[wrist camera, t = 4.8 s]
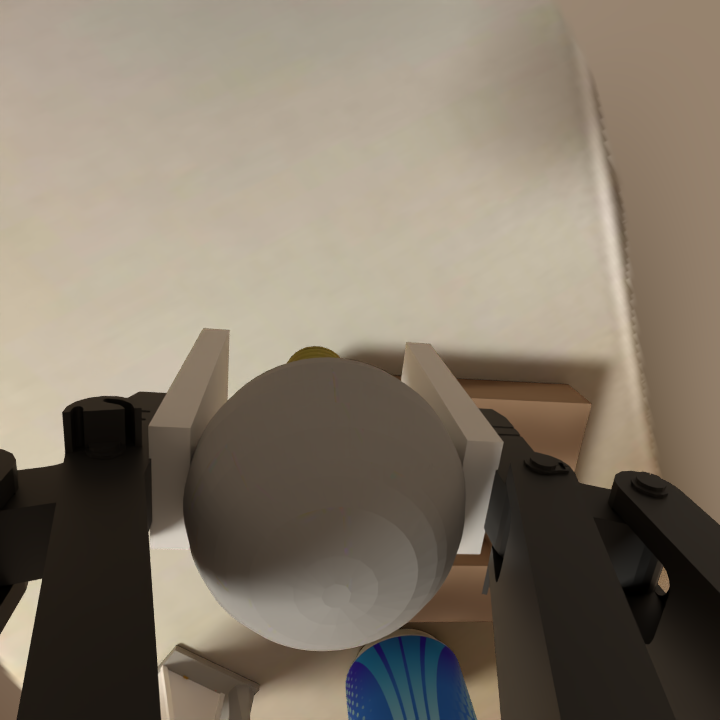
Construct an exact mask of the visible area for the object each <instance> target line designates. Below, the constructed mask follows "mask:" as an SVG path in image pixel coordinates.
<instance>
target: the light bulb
mask: <svg viewBox="0 0 720 720" xmlns="http://www.w3.org/2000/svg"><path fill="white" fill-rule="evenodd" d="M465 502H466V489H465V478H464V472H463V468H462V464H461V461H460V458H459V456H458V453H457V451H456V448H455V446H454V444H453V442H452V440H451V438H450V436H449V434H448V432H447V430H446V428H445V426H444V425H443V423H442V421H441V419H440V418H439V416H438V415H437V413H436V412H435V411H434V409H433V408H432V407H431V406H430V405H429V404H428V402H427V401H426V400H425V399H424V398H422V397H421V396H420V395H419V394H418V393H417V392H416V391H414V390H413V389H412V388H410V387H409V386H408V385H406V384H405V383H403V382H402V381H400V380H399V379H397V378H395V377H394V376H392V375H390V374H389V373H387V372H385V371H383V370H381V369H379V368H377V367H374V366H372V365H369V364H366V363H363V362H359V361H355V360H350V359H343V358H340V357H339V356H338V355H337V354H336V353H334V352H333V351H332V350H329V349H327V348H324V347H318V346H313V347H306V348H303V349H301V350H299V351H298V352H296V353H295V354H294V355H293V356H292V357H291V358H290V359H289V361H288V362H287V364H283V365H280V366H278V367H275V368H273V369H271V370H268V371H266V372H265V373H263V374H261V375H259V376H257V377H256V378H254V379H253V380H251V381H250V382H248V383H247V384H246V385H244V386H243V387H242V388H241V389H240V390H238V391H237V392H236V393H235V394H234V395H233V396H232V397H231V398H230V399H229V400H228V401H227V402H226V403H225V404H224V405H223V406H222V407H221V408H220V409H219V410H218V411H217V412H216V414H215V415H214V416H213V417H212V419H211V420H210V421H209V423H208V425H207V426H206V428H205V429H204V431H203V433H202V435H201V437H200V439H199V441H198V443H197V446H196V449H195V451H194V454H193V458H192V461H191V465H190V468H189V472H188V475H187V479H186V484H185V488H184V497H183V516H184V524H185V529H186V533H187V537H188V541H189V545H190V549H191V553H192V557H193V560H194V562H195V565H196V567H197V569H198V571H199V573H200V575H201V577H202V579H203V580H204V582H205V584H206V585H207V587H208V589H209V590H210V592H211V593H212V595H213V596H214V598H215V599H216V601H217V602H218V603H219V604H220V605H221V607H222V608H223V609H224V610H225V611H226V612H227V613H228V614H229V615H231V616H232V617H233V618H234V619H236V620H237V621H238V622H239V623H241V624H242V625H244V626H246V627H247V628H249V629H250V630H252V631H254V632H255V633H257V634H259V635H260V636H262V637H264V638H266V639H268V640H270V641H273V642H275V643H278V644H281V645H284V646H287V647H291V648H296V649H302V650H310V651H334V650H343V649H349V648H354V647H358V646H362V645H365V644H368V643H371V642H373V641H376V640H378V639H381V638H383V637H385V636H387V635H389V634H391V633H392V632H394V631H396V630H397V629H399V628H400V627H402V626H403V625H404V624H406V623H407V622H408V621H410V620H411V619H412V618H413V617H414V616H415V615H416V614H417V613H418V612H419V611H420V610H421V609H422V608H423V607H424V606H425V605H426V604H427V603H428V602H429V601H430V600H431V599H432V598H433V597H434V595H435V594H436V593H437V592H438V590H439V589H440V587H441V586H442V585H443V583H444V582H445V580H446V578H447V576H448V574H449V572H450V570H451V568H452V565H453V563H454V560H455V557H456V554H457V552H458V549H459V545H460V542H461V539H462V535H463V529H464V521H465Z"/></svg>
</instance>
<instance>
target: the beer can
mask: <svg viewBox="0 0 720 720" xmlns="http://www.w3.org/2000/svg"><path fill="white" fill-rule="evenodd" d="M346 698H347V708H348V719H349V720H477V718H476V715H475V712H474V708H473V705H472V702H471V699H470V696H469V693H468V690H467V687H466V684H465V681H464V678H463V674H462V671H461V668H460V665H459V662H458V660H457V658H456V656H455V654H454V653H453V651H452V650H451V649H450V648H449V647H448V646H446V645H445V644H444V643H442V642H441V641H439V640H437V639H436V638H435V637H433V636H432V635H430V634H428V633H426V632H423V631H420V630H415V629H397V630H396V631H394V632H392V633H391V634H389V635H387V636H385V637H383V638H381V639H378V640H376V641H373V642H371V643H368V644H366V645H365V646H364V647H363V648H362V650H361V651H360V652H359V654H358V656H357V658H356V659H355V661H354V662H353V663H352V665H351V667H350V669H349V671H348V674H347V677H346Z"/></svg>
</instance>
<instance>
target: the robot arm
mask: <svg viewBox="0 0 720 720" xmlns="http://www.w3.org/2000/svg"><path fill="white" fill-rule="evenodd" d="M229 331H230V330H222V329H208V328H203V330H202V332H201V333H200V335H199V337H198V339H197V340H196V342H195V344H194V346H193V348H192V349H191V351H190V353H189V355H188V356H187V358H186V360H185V362H184V364H183V365H182V367H181V369H180V371H179V372H178V374H177V376H176V378H175V380H174V381H173V383H172V385H171V387H170V388H169V390H168V392H167V393H156V392H138V393H136V394H134V395H132V396H130V397H128V398H124V397H119V396H100V397H92V398H87V399H83V400H80V401H76V402H74V403H72V404H71V405H69V406H67V407H66V408H65V410H64V411H63V412H62V414H63V428H64V442H65V458H64V463H61V464H57V465H53V466H47V467H41V468H33V469H25V470H17V466H16V459H15V457H14V456H13V454H12V453H10V452H7V451H5V450H2V449H0V634H1V632H2V630H3V629H4V627H5V625H6V623H7V622H8V620H9V618H10V617H11V615H12V613H13V612H14V610H15V608H16V606H17V605H18V603H19V601H20V600H21V598H22V596H23V594H24V593H25V591H26V588H27V585H28V581H32V580H37V579H42V584H41V589H40V595H39V600H38V606H37V611H36V617H35V622H34V628H33V633H32V638H31V644H30V649H29V655H28V660H27V666H26V671H25V677H24V682H23V688H22V693H21V699H20V704H19V710H18V715H17V720H161V709H160V695H159V680H158V666H157V651H156V637H155V622H154V608H153V593H152V579H151V564H150V550H149V535H148V532H149V529H150V545H151V549H184V550H190V545H189V541H188V537H187V533H186V529H185V524H184V516H183V497H184V488H185V484H186V479H187V475H188V472H189V468H190V465H191V461H192V458H193V454H194V451H195V449H196V446H197V443H198V441H199V439H200V437H201V435H202V433H203V431H204V429H205V428H206V426H207V425H208V423H209V421H210V420H211V419H212V417H213V416H214V415H215V414H216V412H217V411H218V410H219V409H220V408H221V407H222V406H223V405H224V404H225V403H226V402H227V396H228V363H229ZM401 381H402V382H403V383H405V384H406V385H408V386H409V387H410V388H412V389H413V390H414V391H416V392H417V393H418V394H419V395H420V396H421V397H422V398H424V399H425V400H426V401H427V402H428V404H429V405H430V406H431V407H432V408H433V409H434V411H435V412H436V413H437V415H438V416H439V418H440V419H441V421H442V423H443V425H444V426H445V428H446V430H447V432H448V434H449V436H450V438H451V440H452V442H453V444H454V446H455V448H456V451H457V453H458V456H459V458H460V461H461V464H462V468H463V472H464V478H465V489H466V502H465V521H464V529H463V535H462V539H461V542H460V545H459V549H458V552H457V554H480V553H481V548H482V543H483V538H484V534H485V531H486V533H487V535H488V537H489V539H490V541H491V543H492V548H491V553H490V558H489V562H488V567H487V571H486V576H485V581H484V585H483V590H482V594H485V595H487V593H488V590H489V588H490V594H491V605H492V617H493V629H494V641H495V653H496V664H497V676H498V688H499V700H500V712H501V720H720V525H719V524H718V523H717V522H716V521H715V520H713V519H712V518H711V517H710V516H709V515H708V514H707V513H706V512H704V511H703V510H702V509H701V508H700V507H699V506H697V505H696V504H695V503H694V502H693V501H692V500H691V499H690V498H689V497H687V496H686V495H685V494H684V493H683V492H682V491H681V490H679V489H678V488H677V487H675V486H674V485H672V484H671V483H669V482H667V481H665V480H663V479H661V478H660V477H659V476H657V475H654V474H651V475H650V473H647V472H635V471H622V472H620V473H618V474H616V475H615V478H614V482H613V485H612V489H611V490H610V489H606V488H601V487H596V486H591V485H586V484H582V483H579V482H578V480H577V477H576V475H575V472H574V471H573V470H572V468H571V467H570V466H569V465H567V464H566V463H564V462H563V461H562V460H559V459H557V458H555V457H552V456H550V455H546V454H542V453H538V452H534V450H533V449H532V448H531V447H530V446H529V444H528V443H527V442H526V441H525V440H524V438H523V437H520V434H519V432H518V431H517V430H516V429H514V426H513V425H512V424H511V423H510V422H509V420H508V419H507V418H506V417H504V416H503V415H501V414H499V413H498V412H496V411H494V410H493V409H483V408H478V407H477V406H476V405H475V403H474V402H473V401H472V399H471V398H470V397H469V395H468V394H467V393H466V391H465V390H464V389H463V387H462V386H461V385H460V383H459V382H458V381H457V379H456V378H455V377H454V375H453V374H452V373H451V371H450V370H449V369H448V367H447V366H446V365H445V363H444V362H443V361H442V359H441V358H440V357H439V355H438V354H437V353H436V351H435V350H434V349H433V347H432V346H431V345H430V344H424V343H410V342H406V348H405V356H404V363H403V370H402V377H401ZM663 566H664V568H665V570H666V571H667V574H668V577H669V583H670V587H669V590H668V591H667V593H665V592H664V591H663V590H662V589H661V587H660V586H659V585H658V584H657V583H658V580H659V577H660V574H661V571H662V568H663Z"/></svg>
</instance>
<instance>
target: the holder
mask: <svg viewBox="0 0 720 720" xmlns="http://www.w3.org/2000/svg"><path fill="white" fill-rule="evenodd" d="M392 376H394V377H395V378H397V379H399V380H400V381H401V377H402V376H397V375H392ZM457 381H458V382H459V383H460V385H461V386H462V387H463V389H464V390H465V391H466V393H467V394H468V395H469V397H470V398H471V399H472V401H473V402H474V403H475V405H476V406H477V407H478V408H483V409H493V410H494V411H496V412H498V413H499V414H501V415H503V416H504V417H506V418H507V419H508V420H509V422H510V423H511V424H512V425H513V426H514V429H516V430H517V431H518V432H519V434H520V437H523V438H524V440H525V441H526V442H527V443H528V444H529V446H530V447H531V448H532V449H533V450H534V452H538V453H542V454H546V455H550V456H552V457H555V458H557V459H559V460H562V461H563V462H564V463H566V464H567V465H569V466H570V467H571V468H572V470H573V471H574V472H575V468H576V464H577V460H578V456H579V452H580V448H581V444H582V440H583V436H584V433H585V429H586V425H587V421H588V417H589V413H590V409H591V405H592V404H591V403H590V402H589V401H588V400H586V399H585V398H584V397H583V396H581V395H580V394H579V393H578V392H577V391H575V390H574V389H573V388H572V387H571V386H569V385H568V384H550V383H530V382H511V381H492V380H473V379H457ZM491 548H492V543H491V541H490V539H489V537H488V535H487V533H486V531H485V534H484V538H483V543H482V548H481V553H480V554H456V557H455V560H454V563H453V565H452V568H451V570H450V572H449V574H448V576H447V578H446V580H445V582H444V583H443V585H442V586H441V587H440V589H439V590H438V592H437V593H436V594H435V595H434V597H433V598H432V599H431V600H430V601H429V602H428V603H427V604H426V605H425V606H424V607H423V608H422V609H421V610H420V611H419V612H418V613H417V614H416V615H415V616H414V617H413V618H412V619H411V620H410V621H408V622H488V621H493V617H492V605H491V594H490V588H489V590H488V593H487V595H485V594H482V590H483V585H484V581H485V576H486V571H487V567H488V562H489V558H490V553H491Z"/></svg>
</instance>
